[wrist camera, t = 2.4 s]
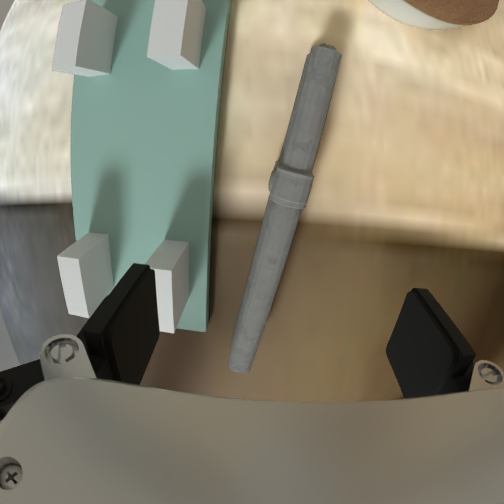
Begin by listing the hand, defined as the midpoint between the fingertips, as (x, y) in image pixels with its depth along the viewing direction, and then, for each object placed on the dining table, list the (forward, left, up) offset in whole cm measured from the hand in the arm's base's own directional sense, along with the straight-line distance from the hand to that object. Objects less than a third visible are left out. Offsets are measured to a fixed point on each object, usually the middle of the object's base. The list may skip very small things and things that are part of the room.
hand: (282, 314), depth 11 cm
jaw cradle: (+11, -4, -14) cm, 18 cm away
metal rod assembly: (0, +1, -15) cm, 15 cm away
